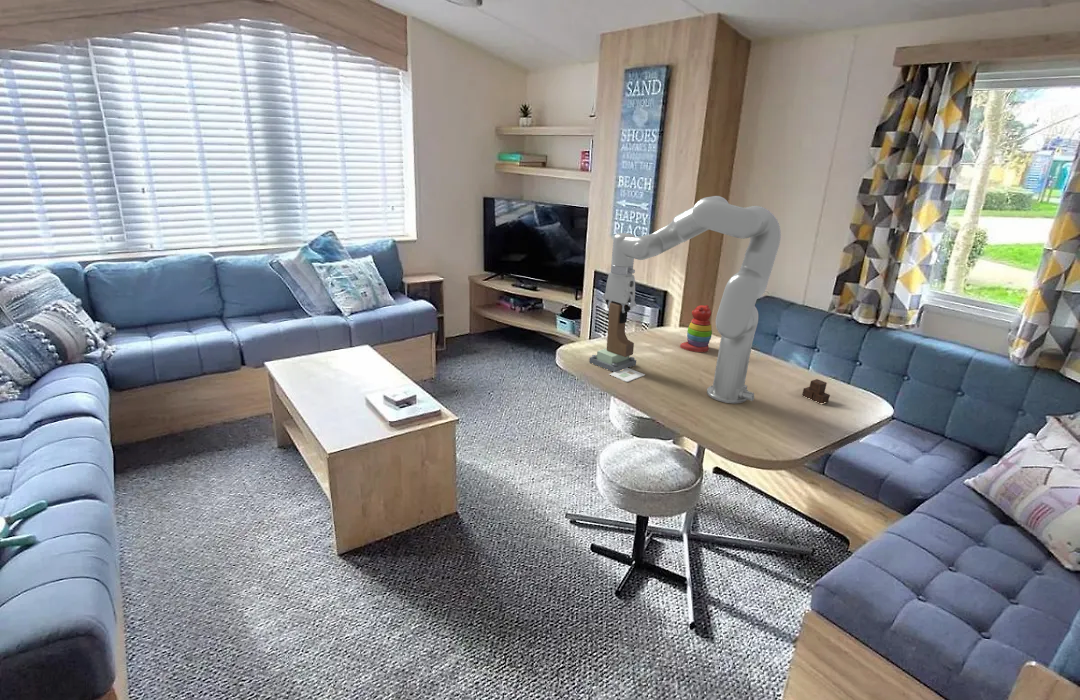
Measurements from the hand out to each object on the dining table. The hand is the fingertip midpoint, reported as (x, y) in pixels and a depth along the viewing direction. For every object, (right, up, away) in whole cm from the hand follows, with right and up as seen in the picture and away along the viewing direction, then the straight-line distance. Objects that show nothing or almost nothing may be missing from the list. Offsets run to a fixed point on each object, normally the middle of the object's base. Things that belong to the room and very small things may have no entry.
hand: (617, 320), depth 201 cm
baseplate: (-1, -16, +6) cm, 17 cm away
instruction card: (+3, -19, -4) cm, 20 cm away
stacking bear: (+35, -10, +26) cm, 45 cm away
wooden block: (+1, -12, +3) cm, 12 cm away
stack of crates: (+64, -27, -14) cm, 71 cm away
